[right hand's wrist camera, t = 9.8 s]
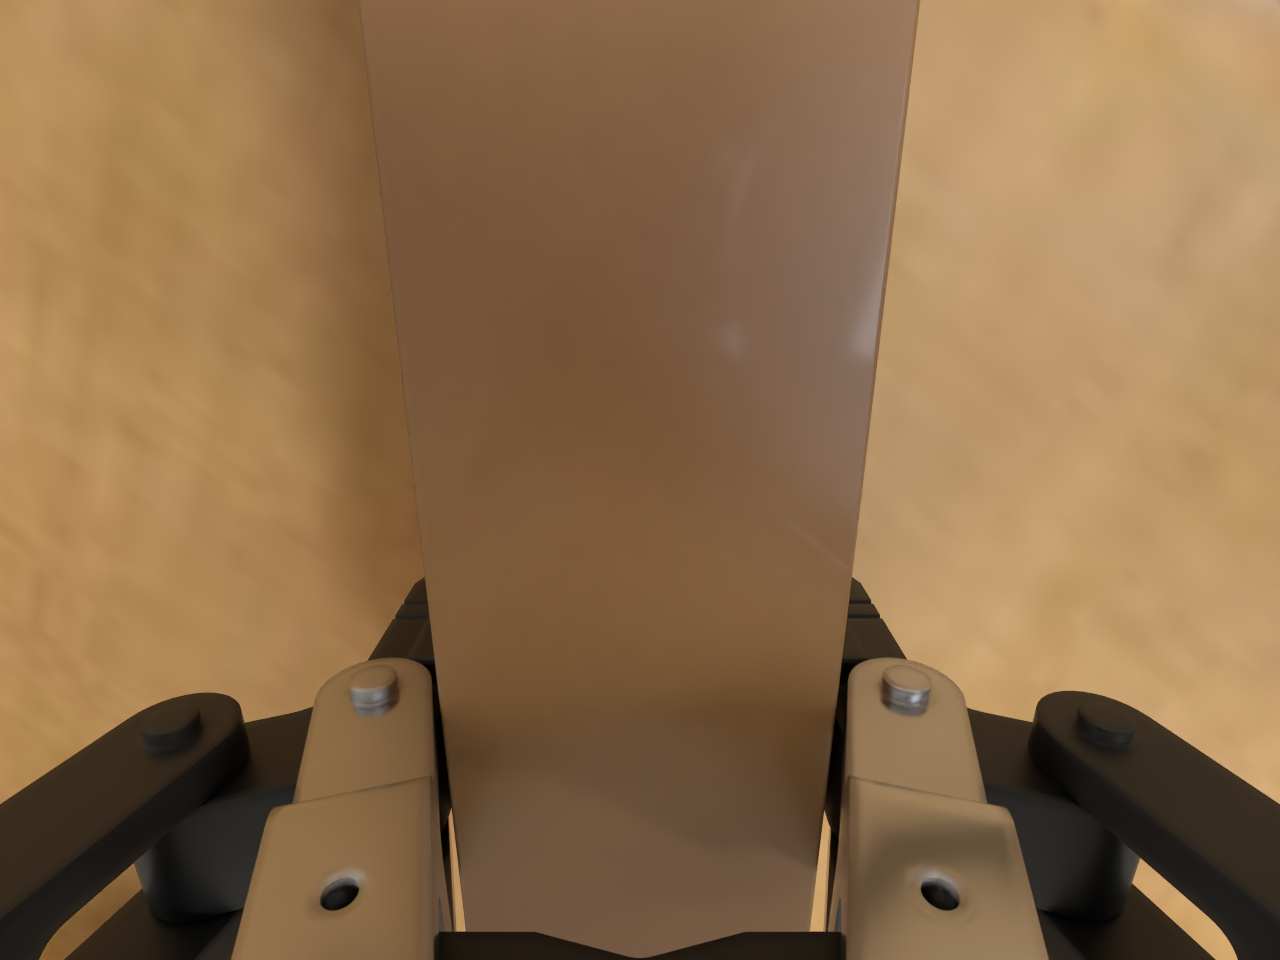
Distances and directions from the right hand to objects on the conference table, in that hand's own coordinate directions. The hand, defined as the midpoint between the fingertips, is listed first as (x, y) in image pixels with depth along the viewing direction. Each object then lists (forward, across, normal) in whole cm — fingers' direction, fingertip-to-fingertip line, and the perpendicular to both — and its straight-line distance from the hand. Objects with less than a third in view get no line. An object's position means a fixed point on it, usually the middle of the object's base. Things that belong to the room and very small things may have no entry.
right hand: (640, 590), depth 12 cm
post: (+2, 0, +36) cm, 36 cm away
